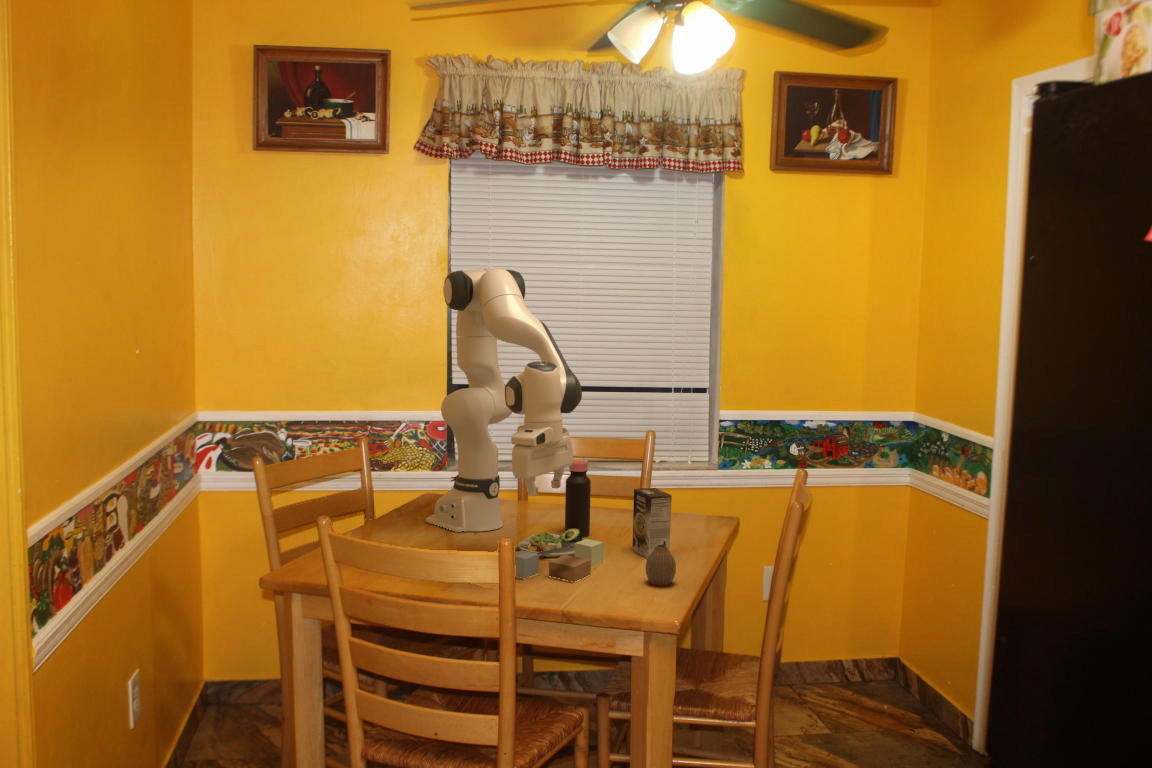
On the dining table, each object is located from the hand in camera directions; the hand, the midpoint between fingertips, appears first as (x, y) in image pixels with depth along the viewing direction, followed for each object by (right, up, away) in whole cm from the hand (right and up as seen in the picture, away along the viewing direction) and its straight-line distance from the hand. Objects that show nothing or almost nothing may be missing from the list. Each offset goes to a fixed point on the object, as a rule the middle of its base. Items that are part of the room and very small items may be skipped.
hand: (544, 491), depth 216 cm
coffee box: (+26, -18, +20) cm, 38 cm away
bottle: (+7, -16, +37) cm, 41 cm away
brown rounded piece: (+26, -21, -3) cm, 34 cm away
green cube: (+10, -19, +12) cm, 24 cm away
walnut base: (+6, -20, 0) cm, 21 cm away
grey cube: (-5, -20, +1) cm, 20 cm away
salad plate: (+2, -18, +24) cm, 30 cm away
